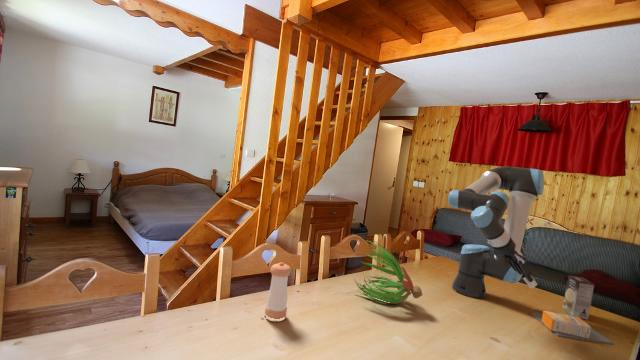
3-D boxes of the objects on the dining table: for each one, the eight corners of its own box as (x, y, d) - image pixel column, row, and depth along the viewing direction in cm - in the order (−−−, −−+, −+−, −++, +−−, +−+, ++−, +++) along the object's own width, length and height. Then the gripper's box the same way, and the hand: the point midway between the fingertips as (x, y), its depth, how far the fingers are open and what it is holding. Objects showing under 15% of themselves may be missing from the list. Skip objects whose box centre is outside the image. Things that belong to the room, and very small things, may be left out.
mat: (558, 336, 123) (558, 334, 123) (530, 313, 141) (530, 312, 141) (613, 344, 122) (613, 342, 122) (578, 320, 140) (578, 319, 140)
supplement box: (543, 309, 133) (579, 316, 130) (541, 321, 133) (577, 328, 131) (552, 318, 125) (591, 326, 122) (550, 330, 125) (589, 339, 123)
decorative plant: (415, 334, 122) (339, 310, 131) (420, 297, 145) (355, 279, 154) (427, 273, 115) (346, 252, 124) (430, 244, 138) (361, 229, 147)
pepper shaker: (289, 316, 113) (296, 262, 112) (278, 324, 106) (285, 267, 105) (272, 309, 116) (278, 257, 115) (260, 317, 109) (266, 262, 108)
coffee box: (561, 307, 152) (567, 274, 151) (576, 310, 151) (583, 277, 150) (572, 316, 143) (578, 281, 142) (589, 319, 142) (595, 284, 141)
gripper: (483, 242, 131) (514, 285, 135) (504, 253, 119) (539, 299, 122) (497, 231, 132) (528, 273, 135) (520, 239, 119) (554, 286, 122)
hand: (533, 285), depth 128 cm, fingers closed
